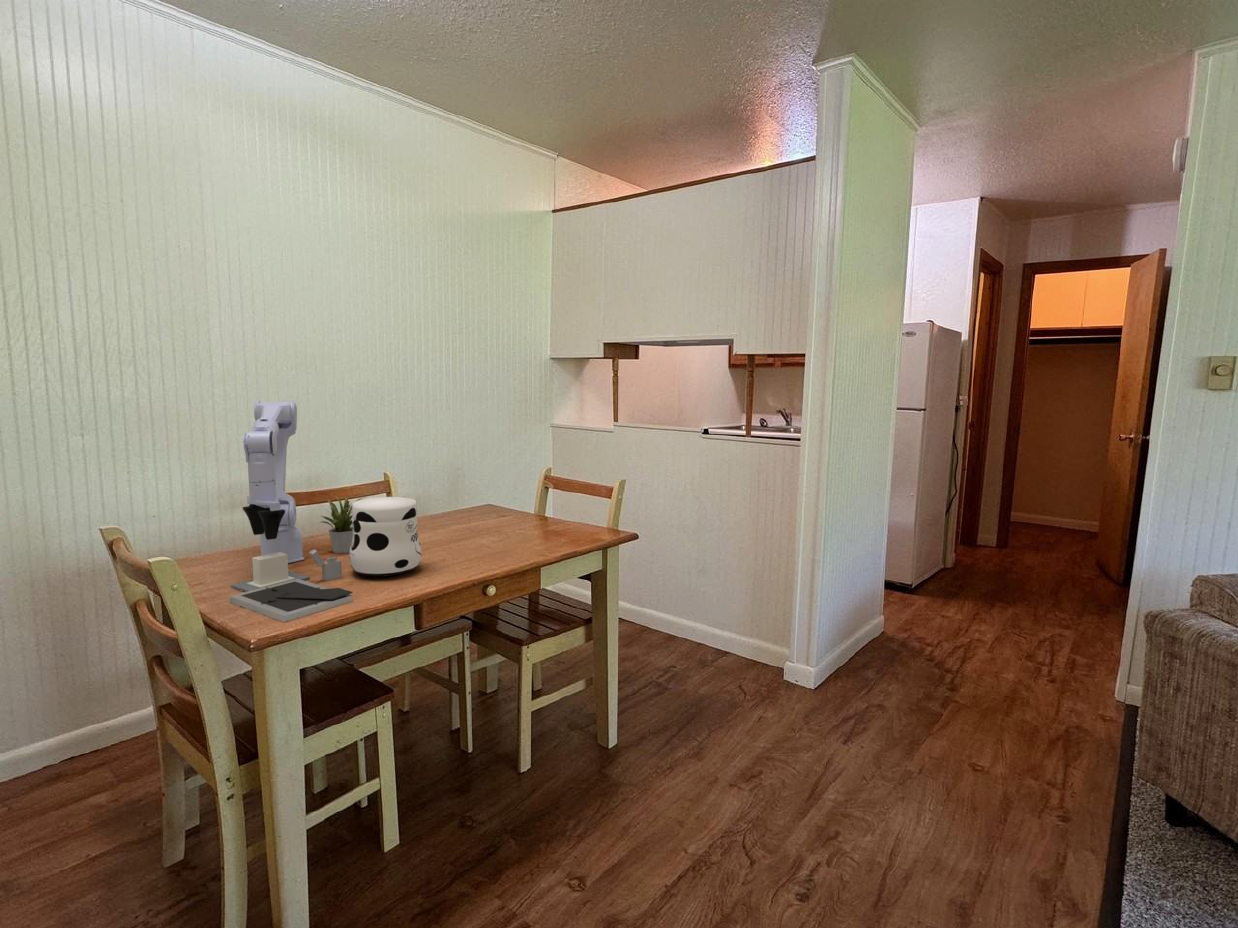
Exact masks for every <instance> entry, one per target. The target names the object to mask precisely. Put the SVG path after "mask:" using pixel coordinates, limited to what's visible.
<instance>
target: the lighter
mask: <svg viewBox="0 0 1238 928" xmlns="http://www.w3.org/2000/svg"><path fill="white" fill-rule="evenodd" d="M308 553H309V555H310V557H311V558H312V560H313V562H314V563H315V565H316V567H319V568H321V571H322V573H321V574H322V580H323V582H327V581H328V582H329V581H332V580H337V579H341V578H343V574H342V573H343V572H342V571H343V570H342V560H341V559H338V557H336V556H332V557H331V556H330V557H326V561H323V558H322V557H321V556H320V553H319V552H318V550H316V549H314V548H313V549H311V550H310V551H309V552H308Z"/></svg>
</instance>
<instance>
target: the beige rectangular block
mask: <svg viewBox="0 0 1238 928" xmlns="http://www.w3.org/2000/svg"><path fill="white" fill-rule="evenodd" d="M251 560H252V575H253V576H252V577H253V579H252V580H253V581H254V583H256V584H259V585H264V584H268V583H273V582H277V581H281V580H285V579H289V577H288V571H289V563H288V557H287V554H284V553H281V552H278V553H273V554H268V555H263V556H261V555H258V556H253V557H252V558H251Z"/></svg>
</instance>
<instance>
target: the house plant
mask: <svg viewBox="0 0 1238 928" xmlns="http://www.w3.org/2000/svg"><path fill="white" fill-rule="evenodd" d="M335 498H336V499H337V501H338V503H339V508H340V512H339V511H338V510H339V509H338V507H337V506H336V504H335V503H334V502H332V501H331V500H330V499H326V501H327V502H328V504H329V505H330V507H329V508H330V510H331V513H330V512H329V514H331V515H330V516H331V517H332V518H330V517H328V516H324V515H320V517H321V518H323V519H324V520H327V521H324V520H321V521H319V524H320V523H323V524H326V525H330V527H331V528H330V529H329V530H328V535H329V539H330V543H331V549H332V552H333V553H334V554H349V552H350V547H351V543H352V538H353V530H352V505H353V502H351V500H349V499H348V496H346V497H345V498H344V504H343V502H342V501H341V499H340V498H339V496H338V495H335ZM362 499H367V496H364V497H360V498H358V499H356V500H355V501H359V500H362ZM350 502H351V503H350ZM317 506H320V507H322V508H324V506H323V505H321V504H318V503H317ZM325 510H326V511H328V510H327V509H326V508H325Z"/></svg>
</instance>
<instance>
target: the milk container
mask: <svg viewBox="0 0 1238 928" xmlns="http://www.w3.org/2000/svg"><path fill="white" fill-rule="evenodd" d="M352 504H353V505H352ZM352 504H351V506H352V510H351V512H352V513H351V515H352V518H351V520H352V524H351V527H352V530H353V538H352V543H351V547H350V552H349V553H348V554H349V555H348V556H349V562H350V567H351V569H352V571H354V572H356V573H357V574H359V575H362V576H368V577H380V578H381V577H391V576H398V575H402V574H405V573H410V572H412V571H413V570H416V568H417V567H418V566H419V565H420V563H421V559H422V546H421V541H420V538H419V535H418V505H417V501H416V500H415V499H414V498H410V497H405V496H404V497H403V496H379V497H378V496H377V497H369V498H363V499H361V500H359V501H356V500H355V501H354V502H352Z"/></svg>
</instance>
